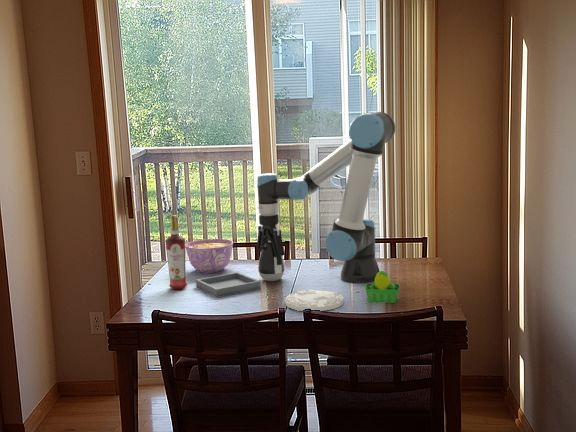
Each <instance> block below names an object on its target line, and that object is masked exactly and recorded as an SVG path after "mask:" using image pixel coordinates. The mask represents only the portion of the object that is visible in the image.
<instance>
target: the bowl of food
mask: <svg viewBox="0 0 576 432" xmlns="http://www.w3.org/2000/svg"><path fill="white" fill-rule="evenodd" d="M233 245H234V241H233V240H231V239H226V238H206V239H196V240H193V241H189V242H187V243H186V242H185V252H186V254H187V257H188V260H189V263H190V265H191V266H192V267H193V269H195V270H197V271H200V272H201V273H204V274H212V273H214V274H215V273H219V272H220V271H221V270H223V269H224V268H226V267H228V265H229V263H230V262H231V258H232V252H233Z"/></svg>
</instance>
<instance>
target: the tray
mask: <svg viewBox="0 0 576 432" xmlns="http://www.w3.org/2000/svg"><path fill="white" fill-rule="evenodd" d="M195 287H196V288H197V289H198V290H201V291H203V292H205V293H207V294H209V295H210V296H211V295H212V296H213V297H214V298H222V297H227V296H230V295H231V296H232V295H236V294H237V295H238V294H241V293H246V292H252V291H253V292H254V291H257V290H261V280H259V279H255V278H254V277H251V276H248V275H246V274H243V273H241V272H239V271H237V272H232V273H231V272H230V273H227V274H221V275H219V274H218V275H215V276H208V277H203V278H198V279H195Z"/></svg>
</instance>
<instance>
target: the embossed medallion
mask: <svg viewBox="0 0 576 432" xmlns="http://www.w3.org/2000/svg"><path fill="white" fill-rule="evenodd" d="M284 303H285V306H286V307H287V308H288V309H289V308H291V309H292V310H294V311H296V310H297V312H304V311H303V310H304V309H307V308H310V309H312V310H320V311H319V312H324V311H330V310H334V309H337V308H339V307H341V306H342V305H344V296H343V295H341V294H339V292H338V291H327V290H326V291H325V290H314V289H313V288H311V289H305V290H304V289H300V290H297V291H296V293H294V292H293V293H289V294H288V295H286V297H285V300H284Z"/></svg>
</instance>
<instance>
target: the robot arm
mask: <svg viewBox="0 0 576 432" xmlns="http://www.w3.org/2000/svg"><path fill="white" fill-rule="evenodd" d="M395 133H396V123H395V120H394V118H393V117H392V116H391V115H390V114H389V113H386V112H384V111H375V112H364V113H362V114H360V115H358V116H357V117H355V118H354V119H353V120H352V122H350V125H349V129H348V134H349V135H348V136H349V140H348V141H347V142H345V143H344V144H342V145H341V146H339V147H338V148H337V149H335V151H333V152H332V153H330V154H329V155H328V156H326V157H325V158H324V159H322V160H321V161H320V162H318V163H317V164H315V166H313V167H311V168H310V169H309V170H308V171H307V172H304V174H302V176H298V177H294V178H290V179H282V178H281V179H280V178H278V176H277V174H276V173H272V172H271V173H270V172H269V173H261V174H260V173H259V174H258V176H257V181H256V182H257V183H256V184H257V186H256V187H257V197H258V203H257V204H258V207H257V209H258V214H259V216H258V221H259V222H258V223H259V225H258V226H257V229H258V232H257V242H256V249H257V250H258V251H259V254H261V251H262V249H261V248H260V246H264V245H265V243H267V242H270V241H271V244H272V247H273V250H274V253H275V256H274V266H275V274H277V273H282V261H281V256H282V257H283V256H285V255H286V254H285V249H284V243H283V239H282V230H281V229H278V228H277V225H278V224H280V219H279V214H278V213H279V201H278V200H289V201H290V200H293V201H299V200H301V201H302V200H305V199H306V197H307V196H308V195H313V194H314V193H316V192H317V191H318V190H319V188H321V186H323V185H324V184H325V183H327V182H328V181H330V180H331V179H332V178H333V177H335V176H337V175H338V174H339V173H340V172H342V171H344V169H346V168H347V167H349V170H348V176H347V180H346V185H345V189H344V194H343V198H342V203H341V206H340V212H339V216H338V217H337V218H335V219H334V221H333V223H332V228H331V232H329V233H328V234H327V236H326V238H325V241H324V245H325V246H324V247H325V250H326V252H327V253H328V255H329V256H330V257H331V258H332V259H334V260H335V261H339V262H343V263H342V267H341V270H340V279H341V280H342V281H344V282H348V283H349V282H350V283H372V282H375V281H374V280H375V277H376V275H377V273H378V272H380V271H381V270H380V268H379V265H378V263H377V262H378V261H377V259H376V233H375V232H376V227H375V221H374V220H373V219H370V218H369V219H368V218H365V211H366V207H367V203H368V199H369V195H370V189H371V186H372V180H373V178H374V177H373V176H374V171H375V167H376V164H377V159H378V158H379V157H381V156H382V155H383V152H384V147H385V145H386V143H388V142H390V141H391V140H392V138H393V137H394V136H395Z"/></svg>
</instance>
